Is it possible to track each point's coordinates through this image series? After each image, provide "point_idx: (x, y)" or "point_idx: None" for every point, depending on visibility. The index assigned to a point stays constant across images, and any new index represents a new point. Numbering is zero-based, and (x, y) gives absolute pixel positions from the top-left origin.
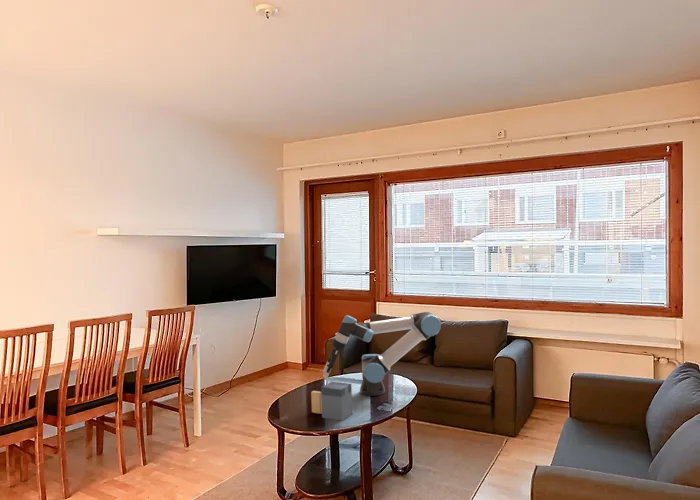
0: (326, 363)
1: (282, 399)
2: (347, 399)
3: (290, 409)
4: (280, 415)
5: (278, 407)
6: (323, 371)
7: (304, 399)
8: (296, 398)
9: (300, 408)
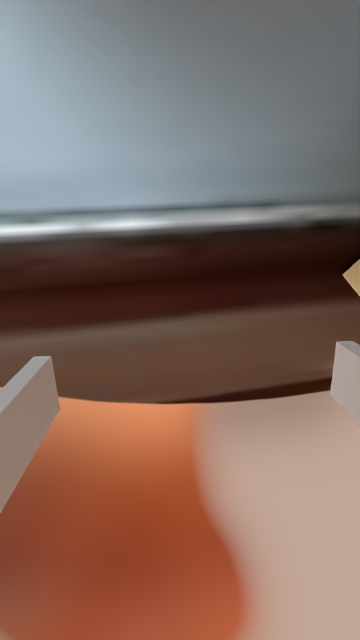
0: (2, 506)
1: (112, 400)
2: None
3: (257, 361)
4: (316, 377)
5: (218, 395)
6: (56, 406)
7: (113, 333)
8: (96, 363)
9: (257, 332)
